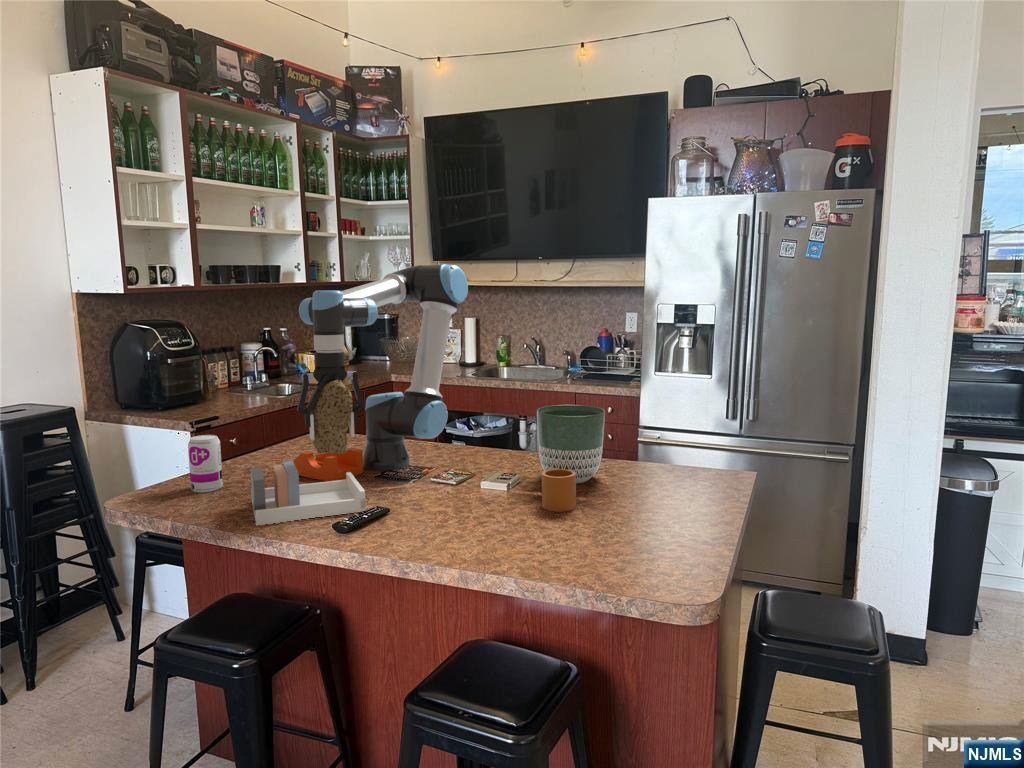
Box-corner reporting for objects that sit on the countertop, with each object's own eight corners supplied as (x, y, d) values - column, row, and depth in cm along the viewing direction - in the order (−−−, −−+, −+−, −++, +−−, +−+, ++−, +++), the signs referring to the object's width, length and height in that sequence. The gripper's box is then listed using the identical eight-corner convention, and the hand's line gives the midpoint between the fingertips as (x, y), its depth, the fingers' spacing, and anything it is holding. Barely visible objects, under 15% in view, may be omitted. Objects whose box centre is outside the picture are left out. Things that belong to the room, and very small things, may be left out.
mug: (585, 501, 183) (585, 468, 182) (568, 514, 173) (569, 479, 171) (553, 496, 187) (554, 464, 186) (536, 509, 177) (536, 475, 175)
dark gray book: (262, 498, 180) (260, 466, 179) (266, 513, 168) (264, 479, 167) (252, 499, 179) (250, 467, 178) (255, 515, 167) (253, 480, 166)
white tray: (351, 491, 193) (350, 472, 192) (365, 512, 174) (364, 490, 174) (251, 502, 182) (250, 482, 182) (256, 525, 164) (255, 503, 163)
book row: (294, 497, 183) (292, 461, 182) (300, 512, 171) (298, 472, 170) (274, 500, 181) (272, 462, 180) (279, 514, 169) (277, 474, 168)
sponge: (303, 454, 179) (302, 378, 177) (326, 449, 186) (324, 375, 184) (341, 460, 173) (339, 381, 170) (362, 455, 179) (361, 378, 177)
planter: (526, 488, 195) (526, 413, 192) (549, 471, 213) (549, 403, 210) (593, 495, 188) (594, 418, 185) (611, 477, 206) (612, 407, 203)
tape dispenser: (363, 476, 209) (362, 449, 208) (332, 486, 199) (331, 458, 197) (321, 468, 219) (320, 443, 218) (289, 477, 208) (288, 450, 207)
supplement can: (211, 494, 190) (207, 441, 188) (184, 492, 191) (181, 439, 189) (228, 486, 198) (225, 435, 196) (203, 484, 199) (199, 433, 197)
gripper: (369, 348, 183) (371, 431, 186) (282, 351, 175) (286, 438, 178) (375, 350, 177) (377, 436, 180) (285, 353, 168) (289, 444, 171)
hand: (332, 437), depth 179 cm, fingers closed on sponge, 9 cm apart
